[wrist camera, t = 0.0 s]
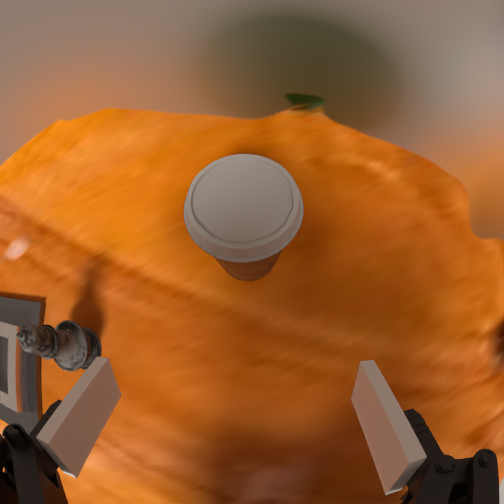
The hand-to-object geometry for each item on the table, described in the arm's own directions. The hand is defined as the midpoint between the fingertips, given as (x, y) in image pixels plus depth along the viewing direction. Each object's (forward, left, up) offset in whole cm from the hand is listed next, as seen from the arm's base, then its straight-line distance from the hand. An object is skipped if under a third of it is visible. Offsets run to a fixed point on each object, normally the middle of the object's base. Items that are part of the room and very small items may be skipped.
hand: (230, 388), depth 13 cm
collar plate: (-4, +36, -15) cm, 39 cm away
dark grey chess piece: (+1, +20, -16) cm, 25 cm away
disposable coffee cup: (+13, 0, -16) cm, 20 cm away
